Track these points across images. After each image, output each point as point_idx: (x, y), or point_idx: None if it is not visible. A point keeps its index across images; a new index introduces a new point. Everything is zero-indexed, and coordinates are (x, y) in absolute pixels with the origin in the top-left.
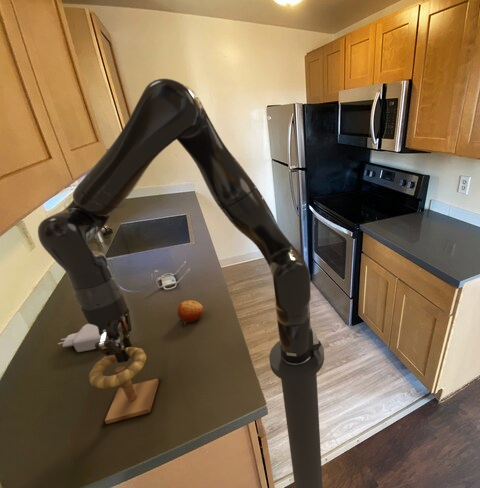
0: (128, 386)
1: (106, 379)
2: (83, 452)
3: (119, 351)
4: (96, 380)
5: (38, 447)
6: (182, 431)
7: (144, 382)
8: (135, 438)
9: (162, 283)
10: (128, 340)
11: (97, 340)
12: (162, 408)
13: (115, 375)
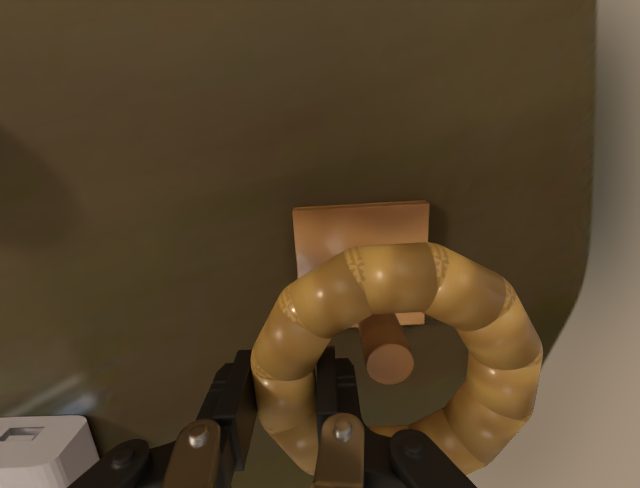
0: None
1: (527, 406)
2: None
3: (420, 444)
4: (503, 447)
5: None
6: (551, 58)
7: (300, 253)
8: (505, 216)
9: None
10: (233, 413)
11: (71, 478)
12: (422, 160)
13: (516, 372)
